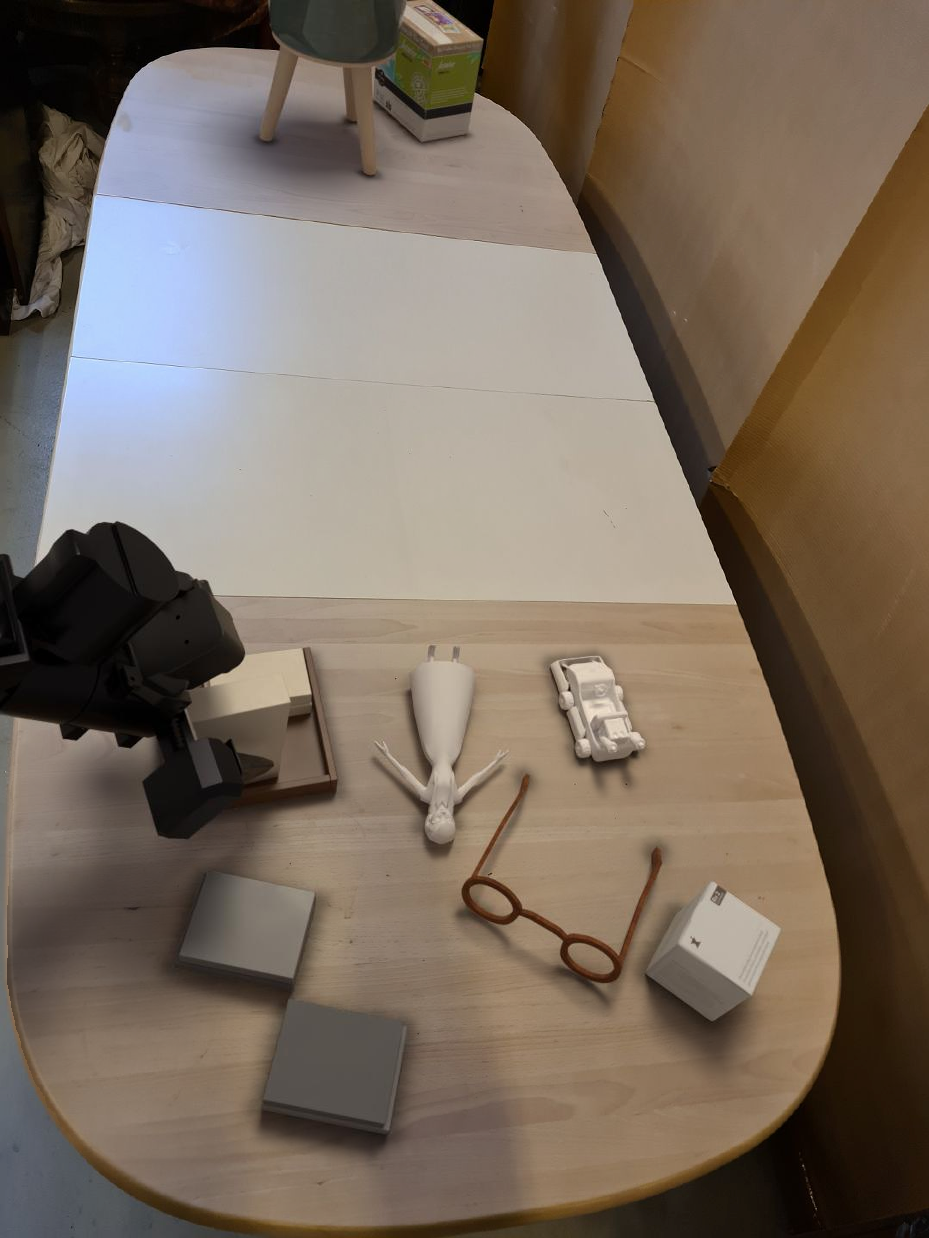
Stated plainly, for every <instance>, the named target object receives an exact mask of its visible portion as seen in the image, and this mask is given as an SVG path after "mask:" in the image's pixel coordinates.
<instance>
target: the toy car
mask: <svg viewBox="0 0 929 1238" xmlns="http://www.w3.org/2000/svg"><path fill="white" fill-rule="evenodd" d="M562 668H565V669H566V676H567V678H566V676H565V673H564V671H563V670H562ZM550 669H551V670H550V671H551V672H552V675H553V677H554V681H555V682H556V686H557V690H558V692H559V696H558V704H559V706H560V709H561V710H563V711H567V712H566V716H567V717H568V718H567V719H568V721H569V725H570V728H571V730H572V734H573V737H574V741H575V744H574V745H575V747H574V748H575V749H574V750H575V753H576V756H577V757H578V758H580V759H586V758H589V757H590V756H591V757H592V759H593V760H594V761H595V762H596V763H597V762H604V761H611V760H618V759H625V758H627V757H628V756H630V755H631V754H632V752H635V751H640V750H643V749H645V747H646V741H645V739H643V738H642V736H641V734H640V732H638V731H632V730H633V727H632V723H631V721H630V718H629V714H628V711H627V710H626V708H625V705H624V703H623V701H624V690H623V688H622V687H621V686H620V685H616V678H615V675H614V672H613V669H611V668H610V667H609V666H607V665H606V664H605V661H604V660H603V658H602V657H601V656H600V655H590V656H581V657H571V658H564V659H558V660H555V661H554V662H552V663H551V664H550ZM566 679H567V680H568V681H567V680H566ZM569 689H570V691H569Z"/></svg>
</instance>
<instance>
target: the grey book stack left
mask: <svg viewBox="0 0 929 1238" xmlns="http://www.w3.org/2000/svg"><path fill="white" fill-rule="evenodd" d="M316 895H317V893H316V892H315V891H311V890H306V889H301V888H297V887H293V886H287V885H284V884H278V883H274V882H268V881H263V880H260V879H256V878H255V879H254V878H249V877H245V876H241V875H235V874H231V873H227V872H221V871H217V870H213V869H207V872H206V873H204V874H203V876H202V878H201V881H200V884H199V887H198V890H197V893H196V896H195V898H194V901H193V904H192V907H191V910H190V913H189V916H188V919H187V922H186V924H185V927H184V930H183V933H182V936H181V939H180V942H179V945H178V948H177V951H176V954H175V957H174V959H173V965H174V968H175V969H177V970H182V971H187V972H190V973H196V974H200V975H206V976H211V977H217V978H221V979H225V980H231V981H235V982H239V983H244V984H250V985H255V986H260V987H265V988H268V989H269V988H270V989H274V990H279V991H284V992H289V993H293V992H294V990H295V985H296V983H297V978H298V975H299V970H300V966H301V962H302V959H303V955H304V951H305V947H306V944H307V939H308V935H309V932H310V927H311V924H312V920H313V916H314V912H315V908H316V905H317V897H316Z"/></svg>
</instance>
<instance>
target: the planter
mask: <svg viewBox="0 0 929 1238" xmlns="http://www.w3.org/2000/svg"><path fill="white" fill-rule="evenodd" d="M407 1H408V0H267V4H268V11H269V12H268V13H269V27H270V30H271V34H272V38H273V39H274V40H275V41H276V43H277V44H278V45H279V51H278V55H277V60H276V64H275V67H274V68H275V69H274V73H273V76H272V81H271V86H270V91H269V94H268V97H267V102H266V106H265V110H264V114H263V118H262V122H261V125H260V131H259V139H260V140H261V141H263V142H271V141H272V140H273V139H274V136H275V133H276V129H277V126H278V123H279V120H280V117H281V114H282V111H283V108H284V105H285V103H286V100H287V96H288V93H289V90H290V87H291V83H292V81H293V77H294V74H295V70H296V68H297V67H296V66H297V63H298V60H299V58H301V59H304V60H306V61H310V62H313V63H316V64H320V65H325V66H330V67H335V68H336V67H337V68H342V76H343V88H344V99H345V112H346V118H347V120H349V121H351V122H356V123H357V133H358V140H359V147H360V156H361V163H362V164H361V165H362V171H363V173H364V174H366V175H368V176H374V175H376V173H377V152H376V151H377V150H376V134H375V122H374V121H375V119H374V117H375V116H374V99H373V76H372V75H373V73H372V72H373V71H372V67H375V66H378V65H381V64H384V63H386V62H388V61H389V60H391V59H392V58H393V57H394V55H395V53H396V50H397V48H398V45H399V37H400V31H401V26H402V22H403V17H404V12H405V8H406V3H407Z"/></svg>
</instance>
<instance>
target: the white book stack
mask: <svg viewBox="0 0 929 1238" xmlns="http://www.w3.org/2000/svg"><path fill="white" fill-rule="evenodd" d="M302 648H303V647H298V648H291V649H282V650H274V651H266V652H259V653H251V654H250V653H249V654H245V657H244V660H243V661H242V663H241V664H240V665H239V666H238V667H236V668H235V669H233V670H231V671H230V672H229V673H226V674H220V675H218V676H216V677H215V678H213V679H211V680H209V681H207V682H205V683H204V687H209V686H214V685H219V684H225V683H230V682H235V681H241V680H246V679H251V678H256V677H262V676H267V675H272V674H278V673H282V674H283V677H284V680H285V684H286V687H287V691H288V694H289V697H290V701H291V704H290V710H289V716H295V715H302V714H309V713H311V709H312V703H311V695H312V693H311V689H310V684H309V679H308V674H307V669H306V664H305V659H304V654H303V649H304V648H303V649H302Z"/></svg>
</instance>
